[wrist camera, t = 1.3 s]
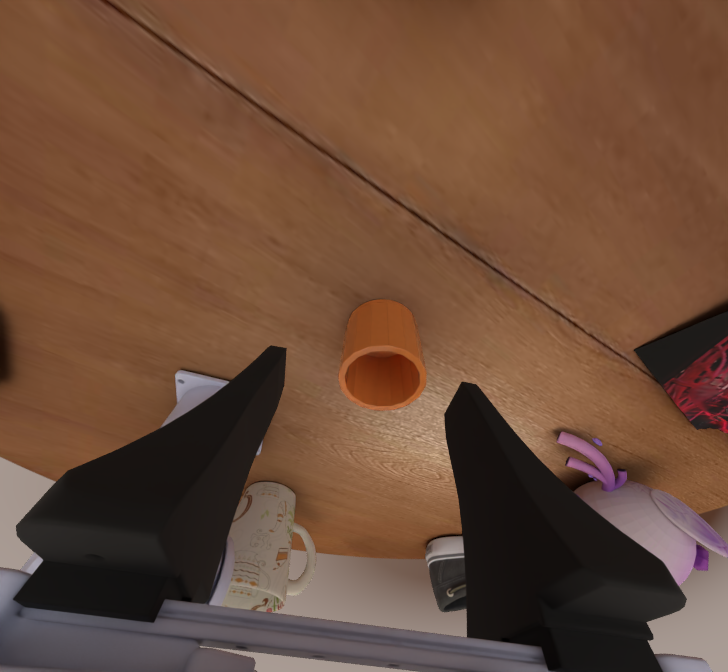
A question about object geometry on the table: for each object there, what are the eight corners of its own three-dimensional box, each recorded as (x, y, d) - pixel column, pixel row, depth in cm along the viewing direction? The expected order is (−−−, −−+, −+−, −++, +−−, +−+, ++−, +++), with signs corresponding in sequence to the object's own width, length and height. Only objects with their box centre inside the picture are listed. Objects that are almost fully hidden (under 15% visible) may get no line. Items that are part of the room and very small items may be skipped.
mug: (262, 466, 33) (224, 577, 25) (345, 509, 38) (335, 614, 30) (224, 492, 37) (179, 597, 29) (304, 528, 42) (285, 627, 33)
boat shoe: (629, 532, 38) (684, 621, 31) (600, 560, 43) (642, 642, 36) (427, 525, 40) (437, 609, 33) (421, 553, 45) (429, 631, 38)
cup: (401, 364, 24) (406, 418, 20) (339, 347, 23) (329, 399, 19) (428, 310, 21) (441, 359, 17) (358, 289, 21) (352, 335, 16)
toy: (752, 520, 26) (591, 394, 34) (783, 611, 19) (567, 423, 26) (618, 574, 34) (509, 460, 41) (602, 653, 27) (473, 498, 34)
